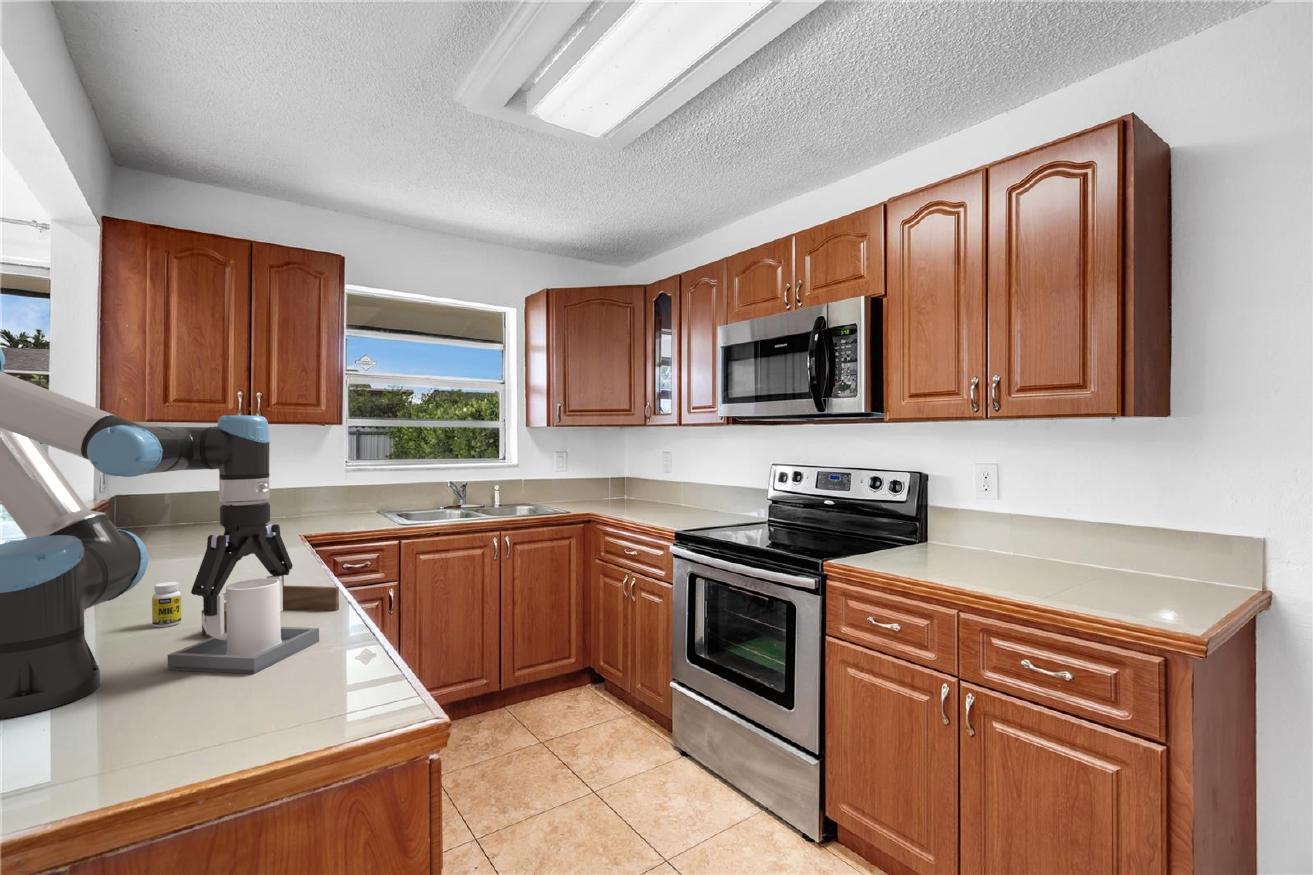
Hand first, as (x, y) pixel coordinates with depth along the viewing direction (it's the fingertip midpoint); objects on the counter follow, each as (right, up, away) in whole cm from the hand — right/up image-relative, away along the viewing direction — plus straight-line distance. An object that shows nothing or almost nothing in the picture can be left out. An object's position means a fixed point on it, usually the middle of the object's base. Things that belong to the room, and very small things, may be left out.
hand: (246, 622), depth 113 cm
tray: (0, -6, 0) cm, 6 cm away
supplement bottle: (-29, -6, +19) cm, 35 cm away
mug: (0, -5, -1) cm, 5 cm away
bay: (-6, -6, +20) cm, 21 cm away
